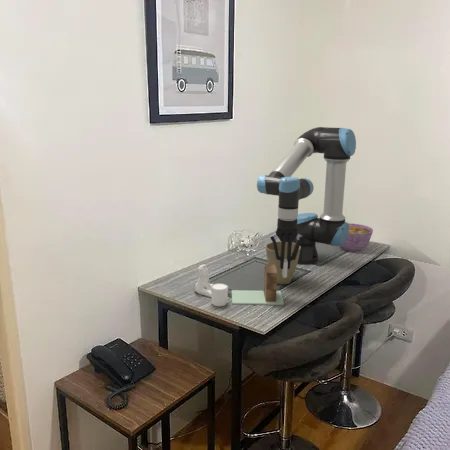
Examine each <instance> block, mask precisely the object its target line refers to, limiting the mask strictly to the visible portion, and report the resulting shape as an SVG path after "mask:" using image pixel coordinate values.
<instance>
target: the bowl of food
mask: <svg viewBox="0 0 450 450" xmlns="http://www.w3.org/2000/svg"><path fill="white" fill-rule="evenodd" d="M347 223H348V222H347ZM348 224H349V232H348V235H347V238H346V240H345V242H344V243H343V244H342V245H341V246H339V247H340V248H342V249H343V250H345V251H347V250H348V251H347V252H353V251H354V252H359V251H361V250H364V249H365V248H367V246H368V245H369V243H370V240H371V238H372V235H373V233H374V232H373V231H374V229H373V228H372V227H370V226H368V225H364V224H360V223H351V222H350V223H348ZM358 250H359V251H358Z"/></svg>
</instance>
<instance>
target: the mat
mask: <svg viewBox="0 0 450 450" xmlns="http://www.w3.org/2000/svg"><path fill="white" fill-rule="evenodd" d="M284 302H285V301H284V299H283V295H282V292H281V290H277V292H276V302H266V301H265V296H264V290H243V289H242V290H239V289H236V290H235V289H234V290H233V289H232V290H231V304H232V305H245V306H246V305H247V306H248V305H251V306H252V305H254V306H255V305H259V306H262V305H265V306H266V305H267V306H268V305H269V306H271V305H272V306H278V305H279V306H284V305H285V303H284Z"/></svg>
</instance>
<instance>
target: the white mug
mask: <svg viewBox="0 0 450 450" xmlns="http://www.w3.org/2000/svg"><path fill="white" fill-rule="evenodd" d="M212 284H213V285H211V297H210V298H211V303H212V305H213V306H215V307H224V306H226V305H227V302H228V293H229V285H227V284H225V283H223V282H222V283H220V282H219V283H212Z"/></svg>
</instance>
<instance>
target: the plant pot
mask: <svg viewBox="0 0 450 450" xmlns="http://www.w3.org/2000/svg"><path fill="white" fill-rule="evenodd" d="M276 243H277V248H278V253H279V256H280V252H281V241H280V240H279V241H276ZM287 244H288V243H287V242H285V253H284V260H287ZM294 247H295V243H292V247H291V256H292V253H293V250H294ZM300 249H301V247H300V246H299V249H298V252H297V256H296V259H295V260H291V262H290V269H287V278H283V276H282V269H281V268H280V260H277V259H276V256H275V251H274V246H273V241H271V242H268V243H267V244H266V245H265V251H266V252H265V253H266V259H267V265H275V267H276V270H277V285H279V284H280V285H288V284H290V283H291V281H292V279H293V276H294V274H295V271H296V269H297V266H298V264H297V263H298V259H299V254H300Z"/></svg>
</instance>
